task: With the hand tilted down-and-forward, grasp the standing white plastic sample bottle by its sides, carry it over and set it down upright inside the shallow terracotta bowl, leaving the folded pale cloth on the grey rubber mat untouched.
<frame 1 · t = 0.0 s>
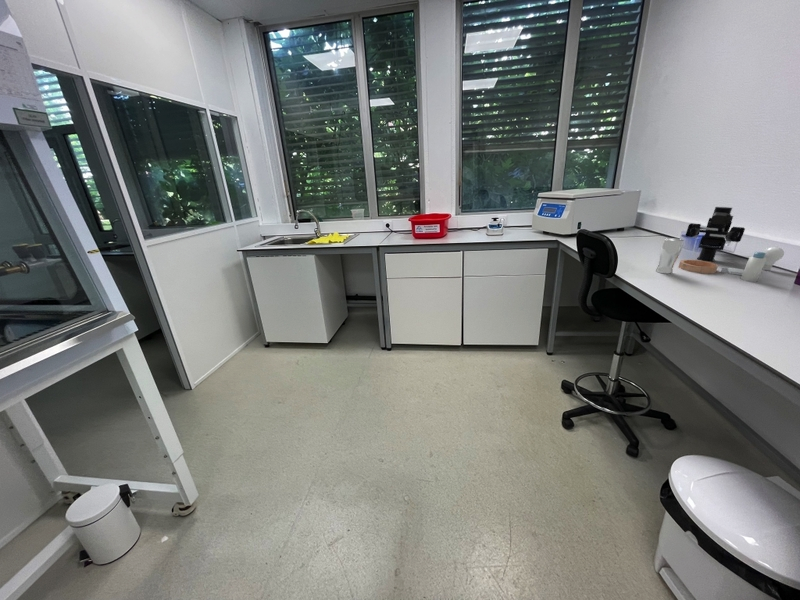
hand: (712, 235, 140), 17 cm above the lab bench, tool horizontal, fingers open, 9 cm apart
beer glass: (663, 272, 146), on the lab bench
bottle: (748, 280, 134), on the lab bench
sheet: (736, 272, 142), resting on mat
mat: (736, 273, 143), on the lab bench
lightbulb: (765, 271, 145), on the lab bench
bowl: (696, 269, 148), on the lab bench
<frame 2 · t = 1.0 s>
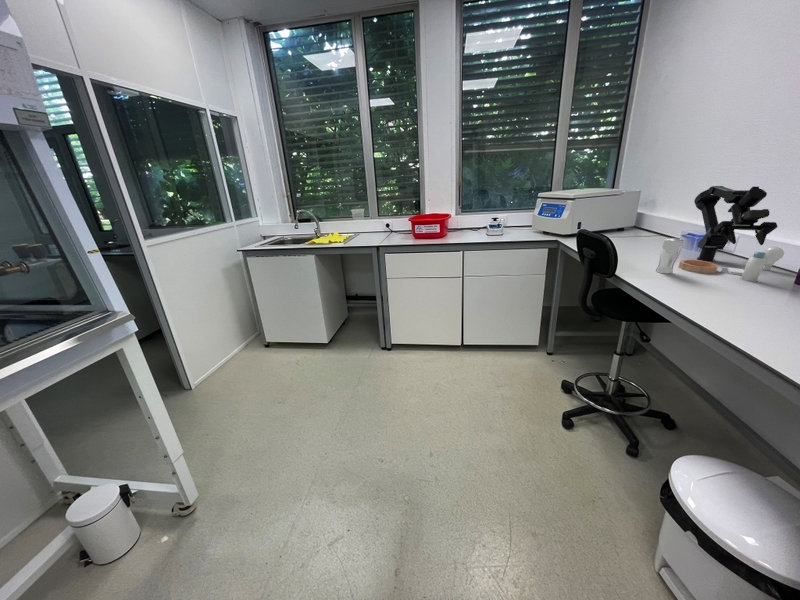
hand: (748, 244, 135), 14 cm above the lab bench, tool tilted 45°, fingers open, 9 cm apart
nothing on the lab bench moved.
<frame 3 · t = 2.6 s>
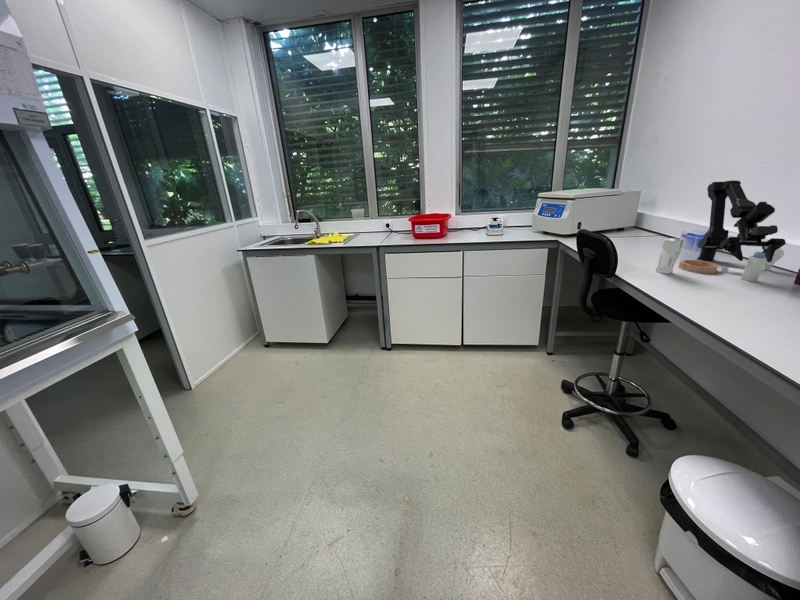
hand: (755, 261, 131), 8 cm above the lab bench, tool tilted 45°, fingers open, 9 cm apart
nothing on the lab bench moved.
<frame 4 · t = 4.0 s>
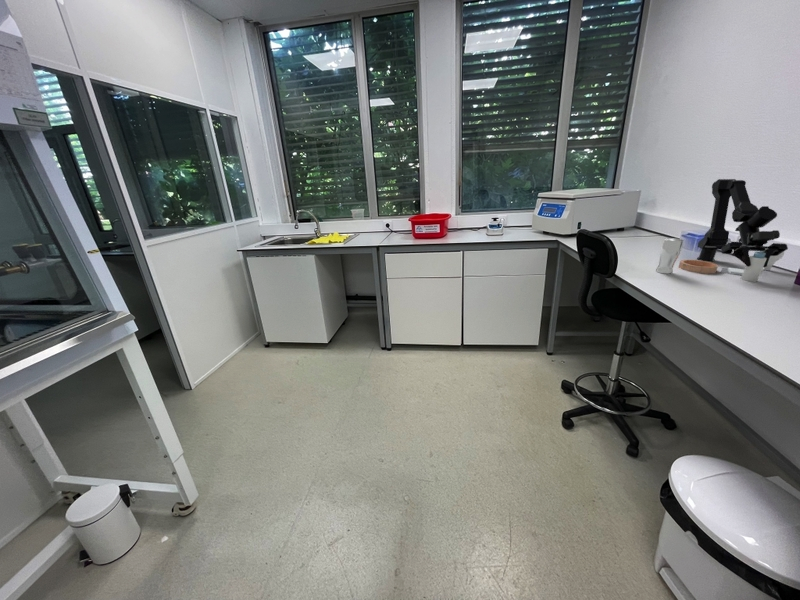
hand: (757, 266, 130), 7 cm above the lab bench, tool tilted 45°, fingers closed on bottle, 5 cm apart
bottle: (748, 280, 134), on the lab bench, touching gripper
everything else where it was.
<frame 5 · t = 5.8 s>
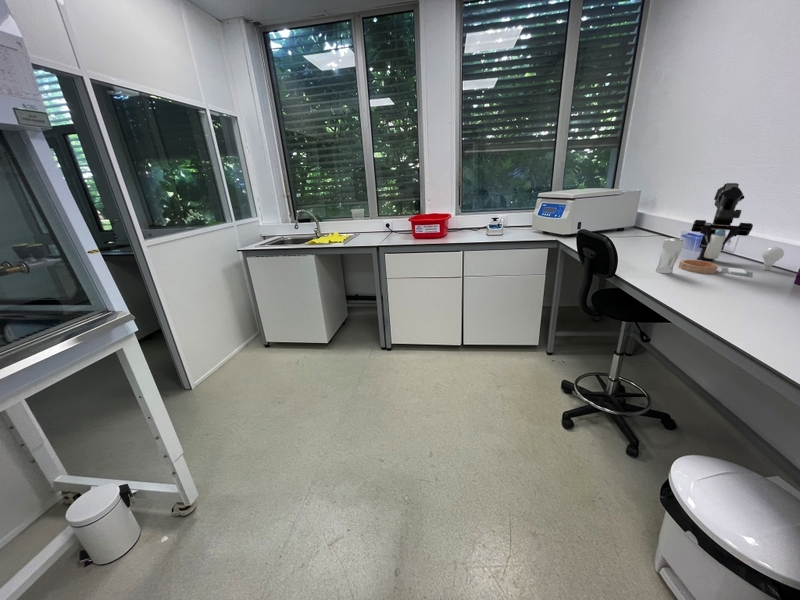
hand: (715, 243, 139), 13 cm above the lab bench, tool tilted 45°, fingers closed on bottle, 5 cm apart
bottle: (710, 257, 143), point 7 cm above the lab bench, touching gripper
everything else where it was.
when the fingers open (8 cm above the lab bench, at t = 7.6 s): bottle drops 1 cm, resting on bowl.
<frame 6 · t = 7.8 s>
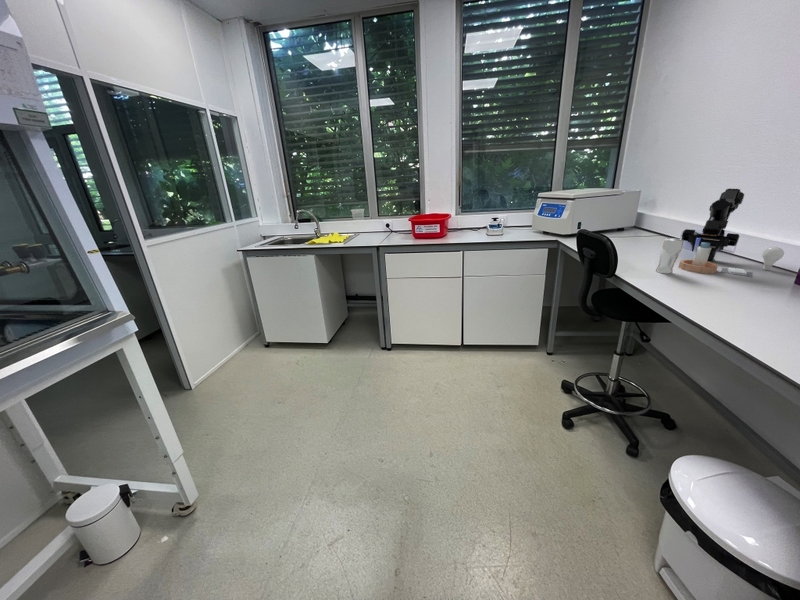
hand: (702, 252, 144), 9 cm above the lab bench, tool tilted 45°, fingers open, 7 cm apart
bottle: (697, 268, 148), point 1 cm above the lab bench, touching bowl
everything else where it was.
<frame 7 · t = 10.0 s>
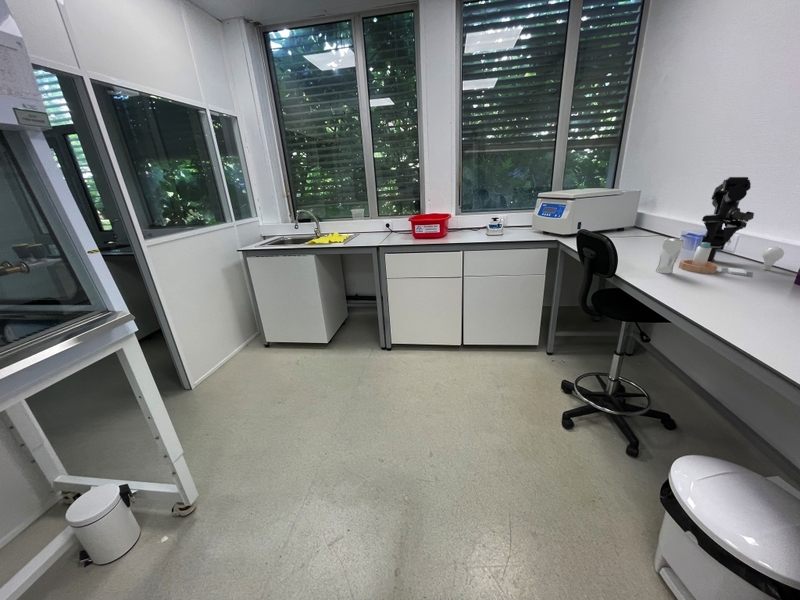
hand: (718, 240, 146), 13 cm above the lab bench, tool tilted 15°, fingers open, 9 cm apart
nothing on the lab bench moved.
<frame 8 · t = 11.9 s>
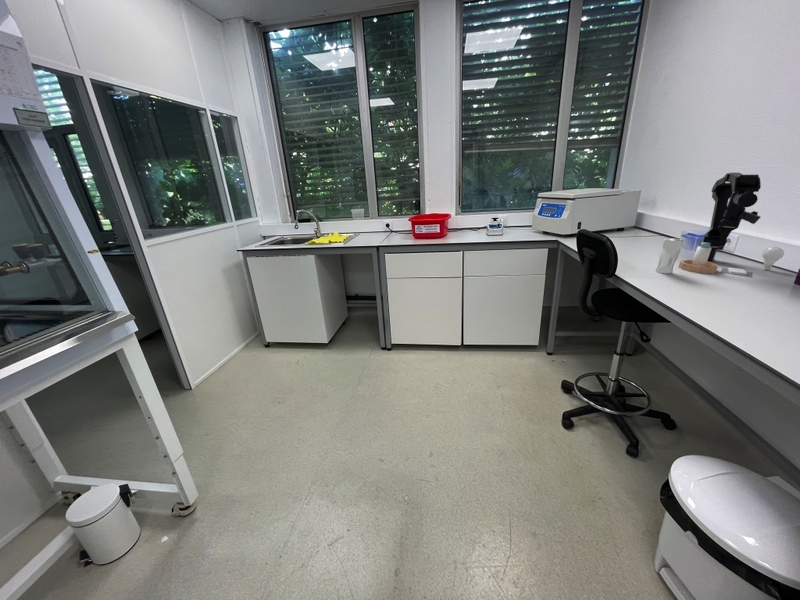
hand: (723, 240, 146), 13 cm above the lab bench, tool pointing down, fingers open, 9 cm apart
nothing on the lab bench moved.
at the end: bottle 0.0 cm from the bowl (horizontally); bottle tilted 0°; the gripper is holding nothing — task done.
